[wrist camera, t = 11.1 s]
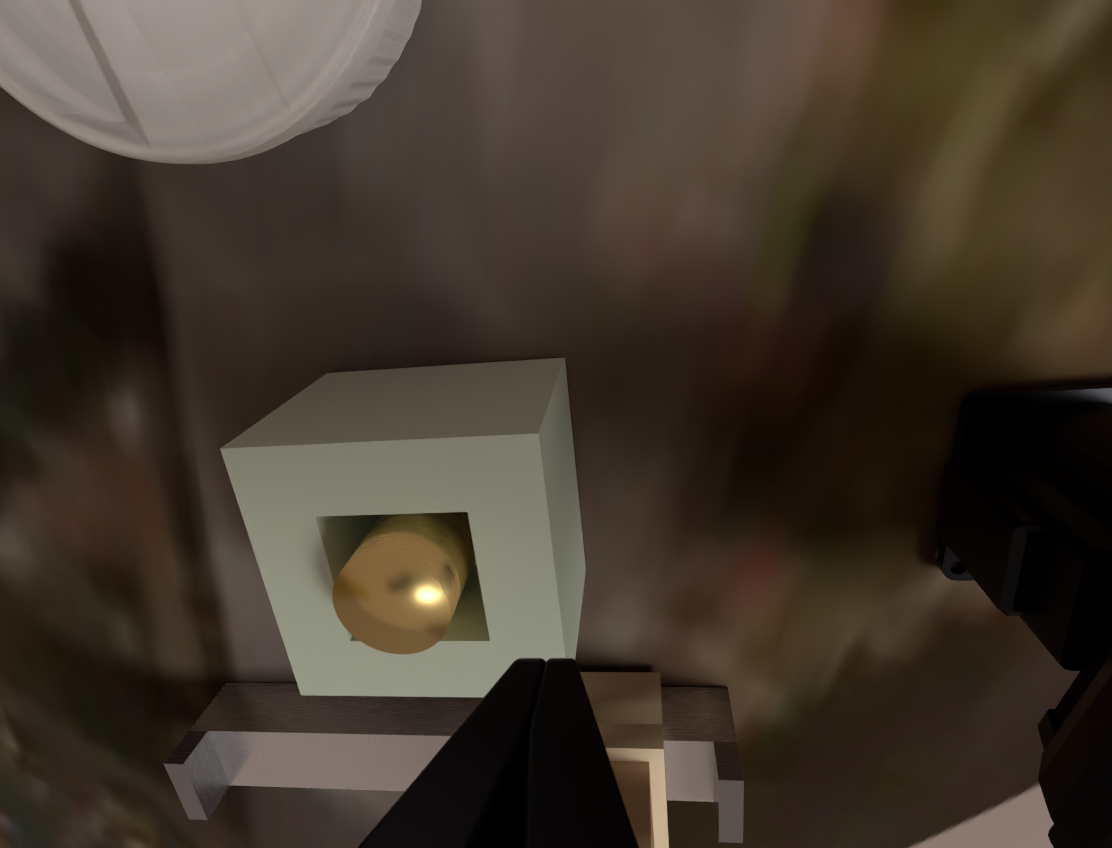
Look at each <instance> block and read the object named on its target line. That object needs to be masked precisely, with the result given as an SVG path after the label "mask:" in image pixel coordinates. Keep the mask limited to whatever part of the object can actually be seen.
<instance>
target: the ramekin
mask: <svg viewBox="0 0 1112 848" xmlns="http://www.w3.org/2000/svg"><path fill="white" fill-rule="evenodd" d="M421 2H422V0H0V87H1V88H2V89H4V90H5V91H6V92H7V93H9V94H10V95H11V96H12V97H13V98H15V99H16V100H17V101H18V102H20V103H21V104H22V105H24V106H25V107H26V108H27V109H29V110H30V111H32V112H33V113H35V114H36V115H37V116H39V117H40V118H42V119H43V120H45V121H46V122H48V123H49V124H51V125H53V126H55V127H56V128H58V129H60V130H62V131H63V132H65V133H67V134H69V135H71V136H73V137H75V138H77V139H79V140H81V141H83V142H85V143H87V144H90V145H92V146H95V147H97V148H100V149H103V150H106V151H109V152H112V153H115V154H118V155H122V156H126V157H130V158H135V159H140V160H145V161H151V162H160V163H171V164H213V163H221V162H227V161H233V160H238V159H242V158H246V157H249V156H253V155H256V154H259V153H262V152H265V151H267V150H269V149H272V148H274V147H276V146H278V145H280V144H282V143H285V142H287V141H288V140H290V139H292V138H293V137H295V136H297V135H300V134H303V133H306V132H309V131H311V130H313V129H316V128H318V127H321V126H324V125H327V124H330V123H331V122H333V121H334V120H335V119H337V118H338V117H341V116H344V115H347V114H348V113H350V112H351V111H352V110H353V109H354V108H355V107H356V106H357V105H358V104H359V103H361V102H363V101H365V100H367V99H368V98H369V97H370V96H371V95H372V93H373V92H374V90H375V89H376V87H377V86H378V85H379V84H380V83H382V82H383V81H384V80H385V79H386V77H387V76H388V74H389V72H390V70H391V68H392V67H393V65H394V64H395V63H396V62H397V61H398V60H399V58H400V56H401V54H402V51H403V49H404V47H405V44H406V43H407V41H408V40H409V38H410V37H411V35H412V31H413V28H414V24H415V22H416V20H417V17H418V15H419V13H420V8H421Z"/></svg>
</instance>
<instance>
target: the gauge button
mask: <svg viewBox="0 0 1112 848" xmlns="http://www.w3.org/2000/svg"><path fill="white" fill-rule="evenodd" d="M474 561H475V552H474V546H473V541H472V535H471V529H470V524H469V518H468V512H447V513H414V514H381V515H380V517H379V518H378V520H377V521H376V522H375V524H374V525H373V527H372V528H371V529H370V531H369V532H368V534H367V535H366V537H365V538H364V539H363V541H362V542H361V544H360V545H359V546H358V548H357V549H356V551H355V552H354V554H353V555H352V556H351V558H350V559H349V561H348V562H347V563H346V565H345V566H344V568H343V569H342V571H341V572H340V573H339V575H338V576H337V578H336V580H335V582H334V586H333V592H332V600H333V605H334V609H335V612H336V614H337V616H338V618H339V620H340V621H341V623H342V624H343V626H344V627H345V628H346V629H347V630H348V632H349V633H351V634H352V635H353V636H354V637H355V638H356V639H358V640H359V641H361V642H362V643H364V644H365V645H367V646H369V647H371V648H374V649H376V650H379V651H382V652H386V653H391V654H402V655H403V654H414V653H418V652H422V651H424V650H427V649H429V648H431V647H432V646H434V645H435V644H436V643H438V642H439V641H440V640H441V639H442V637H443V636H444V635H445V633H446V631H447V629H448V626H449V624H450V621H451V619H452V616H453V614H454V611H455V609H456V606H457V604H458V601H459V599H460V596H461V594H462V591H463V588H464V586H465V583H466V581H467V578H468V576H469V573H470V571H471V568H472V566H473V563H474Z"/></svg>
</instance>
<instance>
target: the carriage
mask: <svg viewBox="0 0 1112 848" xmlns="http://www.w3.org/2000/svg"><path fill="white" fill-rule="evenodd" d="M580 673H581V676H582V679H583V682H584V685H585V688H586V691H587V694H588V697H589V700H590V703H591V706H592V709H593V712H594V715H595V718H596V721H597V724H598V727H599V730H600V733H601V736H602V739H603V742H604V745H605V748H606V751H607V754H608V757H609V760H610V763H611V766H612V769H613V772H614V775H615V777H616V780H617V783H618V786H619V789H620V792H621V795H622V798H623V801H624V804H625V807H626V810H627V813H628V816H629V819H630V822H631V825H632V828H633V831H634V834H635V837H636V840H637V843H638V846H639V848H669V843H668V822H667V802H666V783H665V763H664V743H663V723H662V702H661V682H660V673H659V672H580Z"/></svg>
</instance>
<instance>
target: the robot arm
mask: <svg viewBox="0 0 1112 848" xmlns="http://www.w3.org/2000/svg"><path fill="white" fill-rule="evenodd" d="M985 402H987V407H986V409H985V410H984V411H983V412H981V413H977V414H976V413H975V410H976V408H977V406H979V405H980V404H981V403H985ZM936 532H937V533H938V535H939V536H940V537H941V539H940V546H939V553H938V559H937V563H938V567H939V568H940V570H941V571H942V572H943V574H944V575H945V576H946V577H947V578H949V579H950V580H956V581H964V580H975V581H976V582H977V583H978V585H979V586H980V587H981V588H982V590H983V591H984V592H985V593H986V595H987V596H988V597H989V598H990V600H991V601H992V602H993V603H994V605H995V606H996V607H997V608H998V609H999V610H1000V611H1001V612H1003V613H1004V614H1005V615H1006V616H1020V617H1021V619H1022V620H1023V621H1024V622H1025V623H1026V625H1027V626H1028V627H1029V628H1030V629H1031V631H1032V632H1033V633H1034V634H1035V635H1036V637H1037V638H1038V639H1039V640H1040V641H1041V643H1042V644H1043V645H1044V646H1045V647H1046V649H1047V650H1048V651H1049V652H1050V653H1051V655H1052V656H1053V657H1054V658H1055V659H1056V661H1057V662H1058V663H1059V664H1060V665H1061V666H1062V667H1063V668H1064V669H1066V670H1071V671H1080V673H1079V674H1078V676H1077V677H1076V679H1075V680H1074V682H1073V683H1072V685H1071V686H1070V688H1069V689H1068V691H1067V692H1066V693H1065V695H1064V696H1063V698H1062V699H1061V701H1060V702H1059V704H1058V705H1057V707H1056V708H1055V709H1049V710H1048V711H1047V712H1046V714H1045V715H1044V717H1043V718H1042V720H1041V721H1040V723H1039V724H1038V730H1039V733H1040V737H1041V740H1042V744H1043V748H1044V752H1043V754H1042V759H1041V765H1040V771H1039V777H1038V780H1039V783H1040V786H1041V789H1042V792H1043V796H1044V799H1045V801H1046V805H1047V808H1048V811H1049V814H1050V817H1051V818H1052V821H1053V822H1054V825H1053V826H1052V827H1051V829H1050V830H1049V833H1048V836H1049V839H1050V842H1051V844H1052V845H1053V847H1054V848H1112V383H1101V384H1082V385H1063V386H1044V387H1025V388H1006V389H987V390H977V391H973V392H971V393H970V394H968V395H967V396H966V397H965V398H964V399H963V400H962V402H961V405H960V410H959V416H958V423H957V430H956V437H955V444H954V450H953V457H951V458H950V459H949V460H948V462H947V463H946V464H945V468H944V475H943V482H942V489H941V496H940V503H939V510H938V517H937V524H936ZM958 561H960V562H961V563H960V564H959V565H958V566H956V567H951V566H952V564H954V563H955V562H958ZM358 848H639V846H638V843H637V840H636V837H635V834H634V831H633V828H632V825H631V822H630V819H629V816H628V813H627V810H626V807H625V804H624V801H623V798H622V795H621V792H620V789H619V786H618V783H617V780H616V777H615V775H614V772H613V769H612V766H611V763H610V760H609V757H608V754H607V751H606V748H605V745H604V742H603V739H602V736H601V733H600V730H599V727H598V724H597V721H596V718H595V715H594V712H593V709H592V706H591V703H590V700H589V697H588V694H587V691H586V688H585V685H584V682H583V679H582V676H581V673H580V670H579V667H578V664H577V662H576V660H575V659H573V658H550V659H548V660H547V661H545V660H544V659H542V658H518V659H516V660H515V661H514V662H513V663H512V664H511V665H510V667H509V668H508V669H507V670H506V671H505V673H504V674H503V675H502V676H501V677H500V678H499V680H498V681H497V682H496V683H495V684H494V686H493V687H492V688H491V689H490V690H489V692H488V693H487V694H486V695H485V696H484V698H483V699H482V700H481V701H480V702H479V704H478V705H477V706H476V707H475V708H474V709H473V711H472V712H471V713H470V714H469V715H468V717H467V718H466V719H465V720H464V721H463V723H462V724H461V725H460V726H459V727H458V729H457V730H456V731H455V732H454V733H453V735H452V736H451V737H450V738H449V739H448V740H447V742H446V743H445V744H444V745H443V746H442V748H441V749H440V750H439V751H438V752H437V754H436V755H435V756H434V757H433V758H432V760H431V761H430V762H429V763H428V764H427V766H426V767H425V768H424V769H423V770H422V771H421V773H420V774H419V775H418V776H417V777H416V779H415V780H414V781H413V782H412V783H411V785H410V786H409V787H408V788H407V789H406V791H405V792H404V793H403V794H402V795H401V797H400V798H399V799H398V800H397V801H396V802H395V804H394V805H393V806H392V807H391V808H390V810H389V811H388V812H387V813H386V814H385V816H384V817H383V818H382V819H381V820H380V822H379V823H378V824H377V825H376V826H375V828H374V829H373V830H372V831H371V832H370V833H369V835H368V836H367V837H366V838H365V839H364V841H363V842H362V843H361V844H360V845H359V847H358Z"/></svg>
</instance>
